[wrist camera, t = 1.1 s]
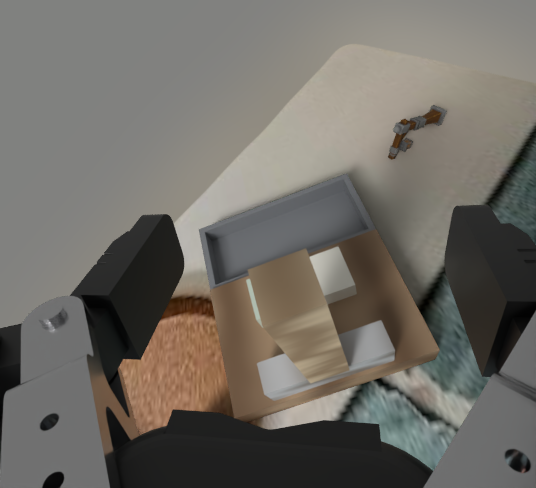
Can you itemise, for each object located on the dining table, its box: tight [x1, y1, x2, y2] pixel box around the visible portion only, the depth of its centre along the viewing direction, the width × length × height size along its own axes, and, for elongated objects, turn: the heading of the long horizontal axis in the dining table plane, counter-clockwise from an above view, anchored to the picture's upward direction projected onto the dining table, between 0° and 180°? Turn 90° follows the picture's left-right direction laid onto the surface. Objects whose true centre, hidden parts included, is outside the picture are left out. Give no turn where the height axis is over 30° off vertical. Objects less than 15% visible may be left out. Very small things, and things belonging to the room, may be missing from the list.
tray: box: [199, 173, 376, 290], centre depth 40 cm, size 17×8×2 cm, turn 106°
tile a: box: [310, 247, 357, 305], centre depth 34 cm, size 4×4×2 cm
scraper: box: [248, 248, 395, 401], centre depth 24 cm, size 10×3×16 cm, turn 106°
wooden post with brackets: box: [388, 105, 446, 159], centre depth 43 cm, size 2×8×4 cm, turn 130°
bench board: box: [210, 229, 440, 422], centre depth 34 cm, size 17×12×3 cm
